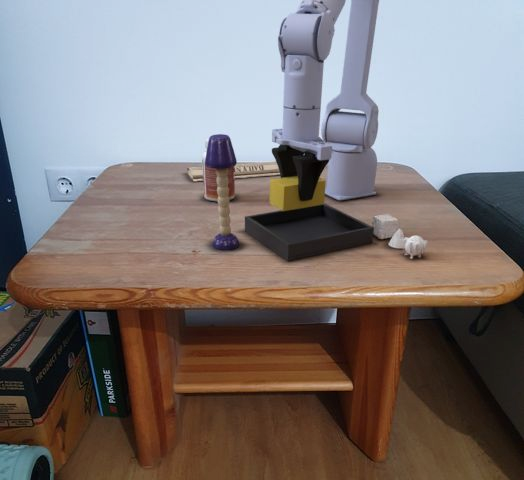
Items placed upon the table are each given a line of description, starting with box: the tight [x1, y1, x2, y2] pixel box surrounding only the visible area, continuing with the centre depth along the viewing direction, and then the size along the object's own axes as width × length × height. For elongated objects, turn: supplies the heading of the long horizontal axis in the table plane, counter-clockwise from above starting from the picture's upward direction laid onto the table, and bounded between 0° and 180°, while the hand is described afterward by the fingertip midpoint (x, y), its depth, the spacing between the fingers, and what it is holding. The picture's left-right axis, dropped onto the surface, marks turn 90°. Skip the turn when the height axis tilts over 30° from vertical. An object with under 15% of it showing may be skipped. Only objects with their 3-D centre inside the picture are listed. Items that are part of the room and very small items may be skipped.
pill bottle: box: [201, 137, 236, 203], centre depth 103 cm, size 6×6×11 cm
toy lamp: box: [205, 133, 240, 251], centre depth 81 cm, size 5×5×17 cm
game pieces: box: [371, 213, 428, 259], centre depth 85 cm, size 12×3×3 cm, turn 20°
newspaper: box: [186, 161, 280, 182], centre depth 121 cm, size 24×7×2 cm, turn 108°
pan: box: [244, 202, 374, 262], centre depth 88 cm, size 16×14×3 cm
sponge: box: [269, 176, 327, 211], centre depth 88 cm, size 8×4×4 cm, turn 119°
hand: (297, 195), depth 88 cm, fingers closed on sponge, 4 cm apart
